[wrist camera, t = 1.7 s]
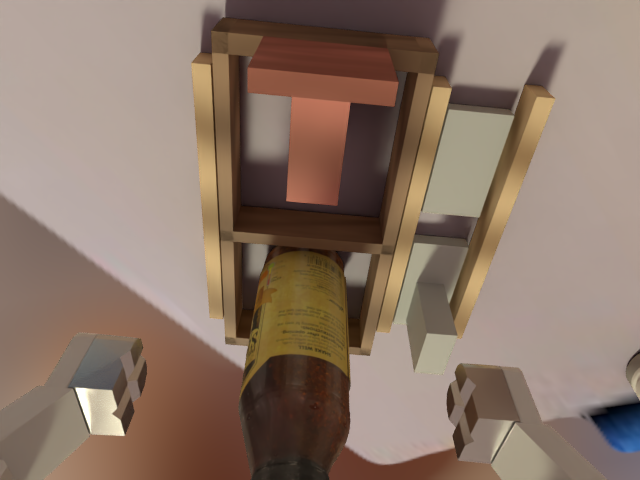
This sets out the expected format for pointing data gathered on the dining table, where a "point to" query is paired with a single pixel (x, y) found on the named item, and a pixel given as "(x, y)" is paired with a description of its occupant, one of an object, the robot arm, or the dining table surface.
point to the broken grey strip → (443, 252)
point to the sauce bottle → (297, 367)
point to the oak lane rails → (488, 226)
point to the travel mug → (634, 374)
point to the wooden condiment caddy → (315, 146)
